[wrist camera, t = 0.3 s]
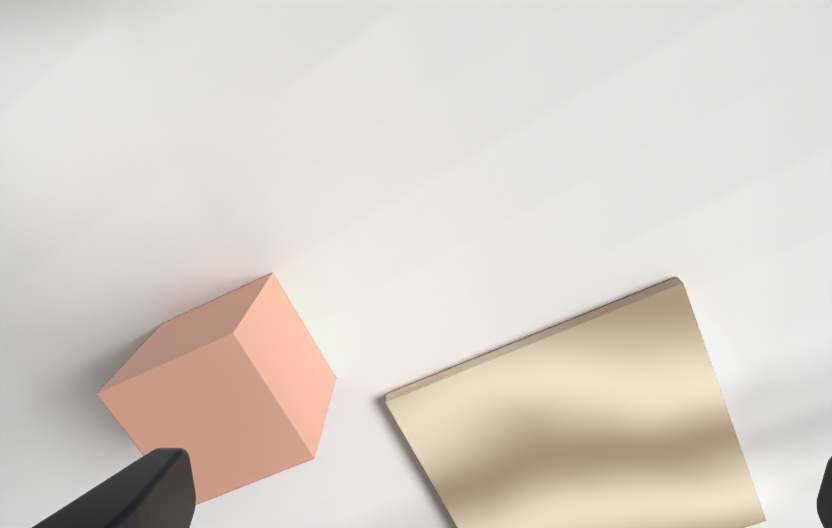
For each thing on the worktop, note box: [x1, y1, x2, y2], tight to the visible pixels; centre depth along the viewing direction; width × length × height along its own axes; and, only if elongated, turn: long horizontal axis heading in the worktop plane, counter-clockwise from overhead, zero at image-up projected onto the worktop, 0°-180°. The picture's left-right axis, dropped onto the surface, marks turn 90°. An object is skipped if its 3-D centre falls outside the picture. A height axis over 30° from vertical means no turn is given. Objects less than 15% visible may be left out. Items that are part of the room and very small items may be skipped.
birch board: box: [385, 277, 766, 528], centre depth 25 cm, size 12×12×1 cm
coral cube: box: [97, 273, 336, 505], centre depth 21 cm, size 5×5×5 cm
